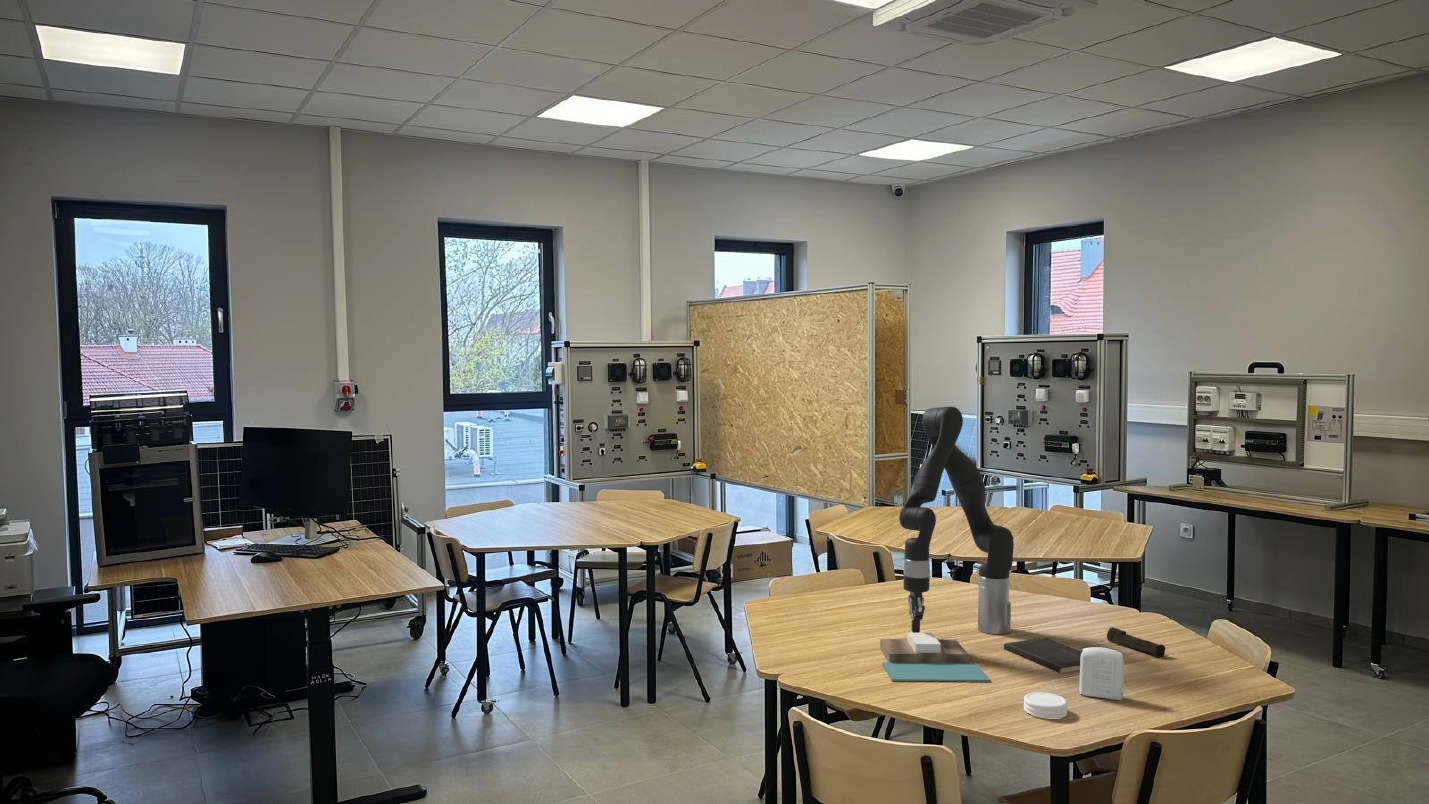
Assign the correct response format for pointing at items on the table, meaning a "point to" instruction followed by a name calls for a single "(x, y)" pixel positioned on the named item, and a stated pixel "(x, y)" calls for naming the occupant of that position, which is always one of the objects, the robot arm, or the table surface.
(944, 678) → the mat
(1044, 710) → the white disc stack
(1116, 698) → the white upright block
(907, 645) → the deck
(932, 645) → the white flat block
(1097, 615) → the table surface
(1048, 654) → the hardcover book
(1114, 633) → the hand tool
